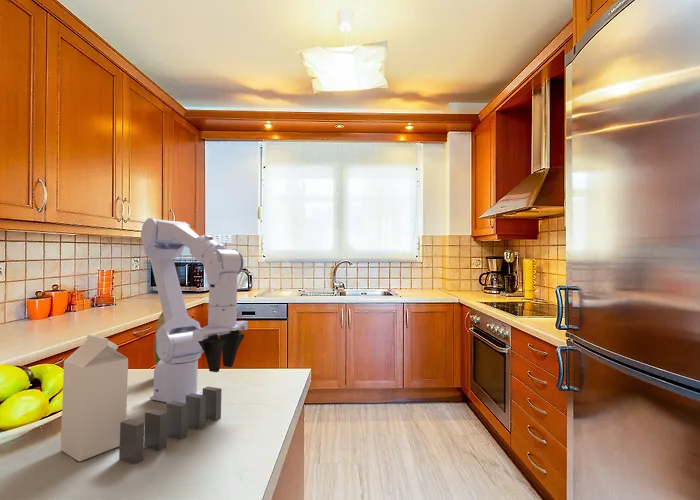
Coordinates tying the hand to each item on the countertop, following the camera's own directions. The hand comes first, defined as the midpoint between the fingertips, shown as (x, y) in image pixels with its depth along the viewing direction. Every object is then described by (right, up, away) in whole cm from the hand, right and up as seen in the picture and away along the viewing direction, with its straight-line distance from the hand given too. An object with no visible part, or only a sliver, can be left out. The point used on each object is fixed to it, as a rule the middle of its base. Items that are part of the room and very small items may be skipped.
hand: (221, 368), depth 80 cm
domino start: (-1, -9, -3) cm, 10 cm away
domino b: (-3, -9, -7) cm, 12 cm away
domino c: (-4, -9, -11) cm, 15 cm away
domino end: (-8, -9, -19) cm, 23 cm away
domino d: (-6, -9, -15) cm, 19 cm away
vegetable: (-24, -10, +24) cm, 35 cm away
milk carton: (-17, -9, -16) cm, 24 cm away
